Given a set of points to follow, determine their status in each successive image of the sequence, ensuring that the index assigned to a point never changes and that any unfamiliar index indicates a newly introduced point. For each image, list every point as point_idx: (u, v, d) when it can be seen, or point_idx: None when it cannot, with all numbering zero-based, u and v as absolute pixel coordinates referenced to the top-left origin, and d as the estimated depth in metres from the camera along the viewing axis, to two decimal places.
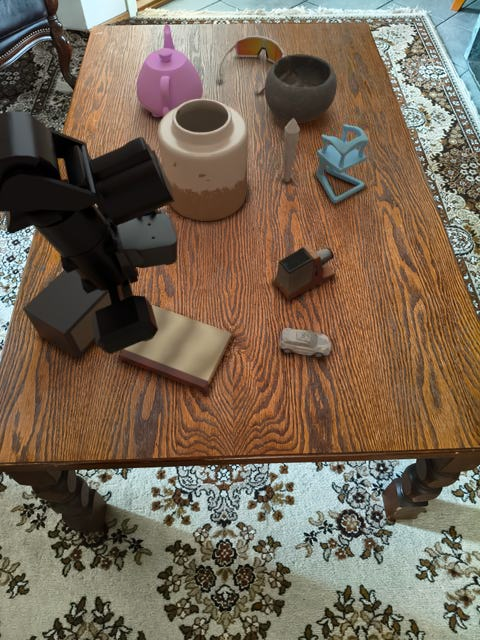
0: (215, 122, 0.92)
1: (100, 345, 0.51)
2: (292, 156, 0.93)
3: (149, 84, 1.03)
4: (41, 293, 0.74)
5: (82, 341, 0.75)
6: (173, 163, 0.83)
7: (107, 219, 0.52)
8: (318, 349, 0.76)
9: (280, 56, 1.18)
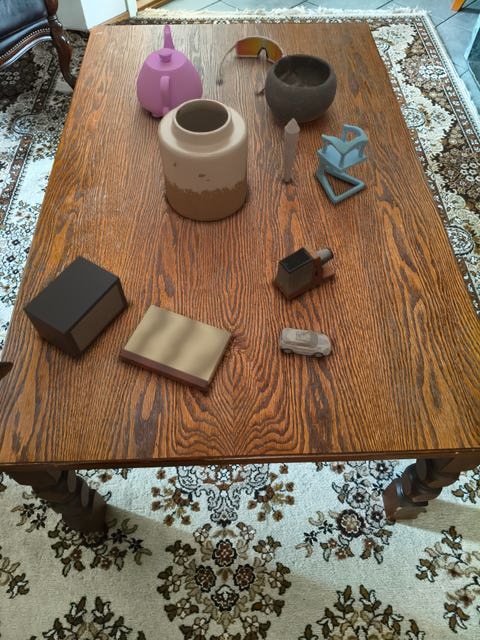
0: (215, 122, 0.92)
1: None
2: (292, 156, 0.93)
3: (149, 84, 1.03)
4: (41, 293, 0.74)
5: (82, 341, 0.75)
6: (173, 163, 0.83)
7: None
8: (318, 349, 0.76)
9: (280, 56, 1.18)
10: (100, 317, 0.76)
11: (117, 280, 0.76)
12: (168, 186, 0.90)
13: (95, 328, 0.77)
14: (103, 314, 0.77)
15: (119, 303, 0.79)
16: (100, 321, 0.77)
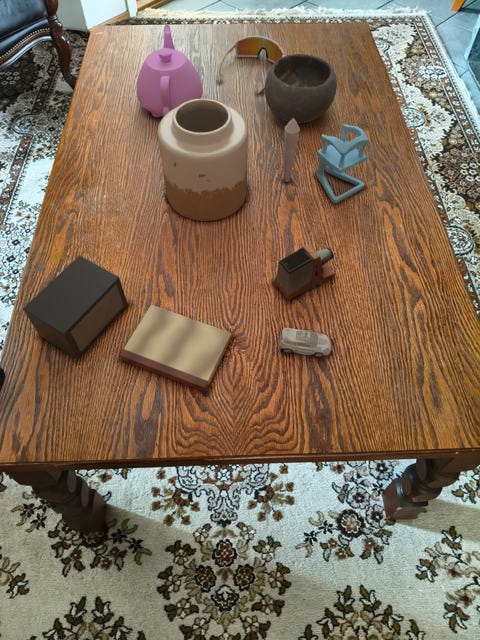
0: (215, 122, 0.92)
1: None
2: (292, 156, 0.93)
3: (149, 84, 1.03)
4: (41, 293, 0.74)
5: (82, 341, 0.75)
6: (173, 163, 0.83)
7: None
8: (318, 349, 0.76)
9: (280, 56, 1.18)
10: (100, 317, 0.76)
11: (117, 280, 0.76)
12: (168, 186, 0.90)
13: (95, 328, 0.77)
14: (103, 314, 0.77)
15: (119, 303, 0.79)
16: (100, 321, 0.77)
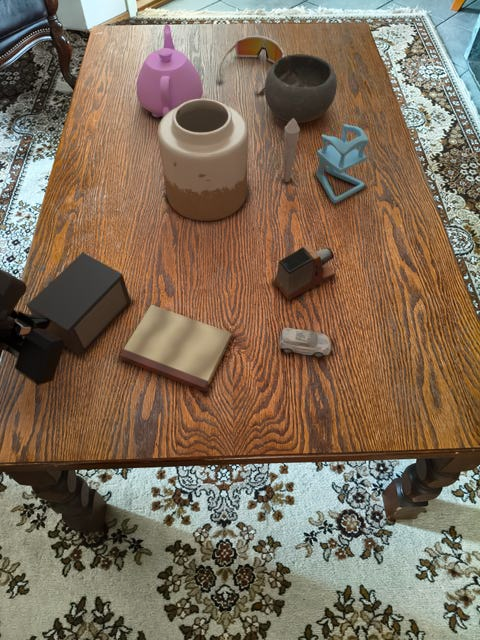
0: (215, 122, 0.92)
1: (40, 383, 0.62)
2: (292, 156, 0.93)
3: (149, 84, 1.03)
4: (45, 290, 0.75)
5: (85, 338, 0.76)
6: (173, 163, 0.83)
7: None
8: (318, 349, 0.76)
9: (280, 56, 1.18)
10: (103, 314, 0.77)
11: (120, 277, 0.76)
12: (168, 186, 0.90)
13: (98, 325, 0.77)
14: (106, 310, 0.77)
15: (122, 300, 0.80)
16: (103, 318, 0.77)
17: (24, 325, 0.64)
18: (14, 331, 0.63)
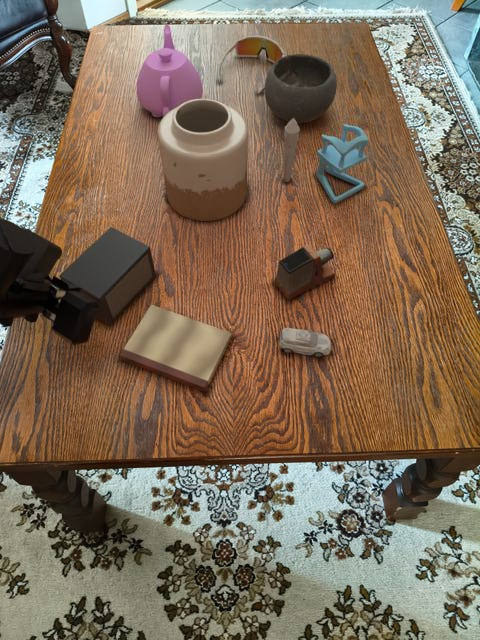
0: (215, 122, 0.92)
1: (76, 343, 0.65)
2: (292, 156, 0.93)
3: (149, 84, 1.03)
4: (76, 261, 0.78)
5: (114, 308, 0.79)
6: (173, 163, 0.83)
7: None
8: (318, 349, 0.76)
9: (280, 56, 1.18)
10: (131, 285, 0.80)
11: (148, 250, 0.79)
12: (168, 186, 0.90)
13: (126, 296, 0.80)
14: (134, 282, 0.80)
15: (149, 273, 0.83)
16: (131, 289, 0.80)
17: (59, 289, 0.67)
18: (50, 294, 0.66)
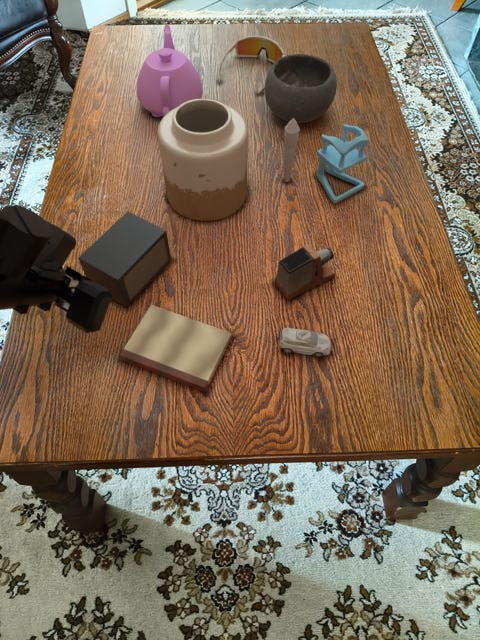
0: (215, 122, 0.92)
1: (89, 331, 0.67)
2: (292, 156, 0.93)
3: (149, 84, 1.03)
4: (94, 244, 0.80)
5: (132, 290, 0.80)
6: (173, 163, 0.83)
7: None
8: (318, 349, 0.76)
9: (280, 56, 1.18)
10: (148, 268, 0.82)
11: (164, 233, 0.81)
12: (168, 186, 0.90)
13: (143, 279, 0.82)
14: (150, 265, 0.82)
15: (164, 257, 0.85)
16: (148, 272, 0.82)
17: (72, 278, 0.68)
18: (64, 283, 0.68)
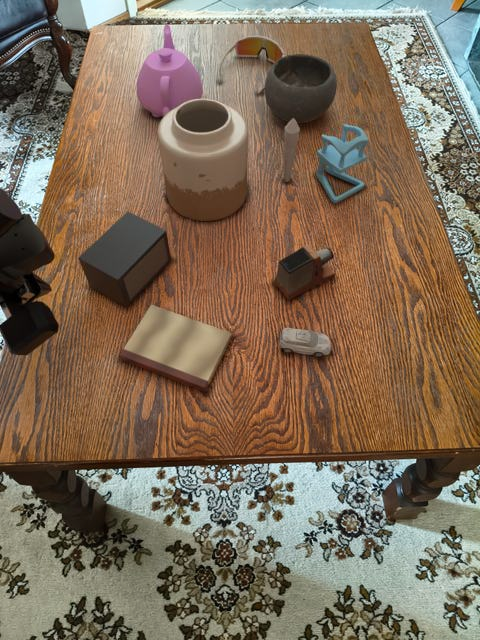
0: (215, 122, 0.92)
1: (14, 354, 0.59)
2: (292, 156, 0.93)
3: (149, 84, 1.03)
4: (94, 244, 0.80)
5: (132, 290, 0.80)
6: (173, 163, 0.83)
7: None
8: (318, 349, 0.76)
9: (280, 56, 1.18)
10: (148, 268, 0.82)
11: (164, 233, 0.81)
12: (168, 186, 0.90)
13: (143, 279, 0.82)
14: (150, 265, 0.82)
15: (164, 257, 0.85)
16: (147, 272, 0.82)
17: (30, 290, 0.61)
18: (17, 291, 0.60)
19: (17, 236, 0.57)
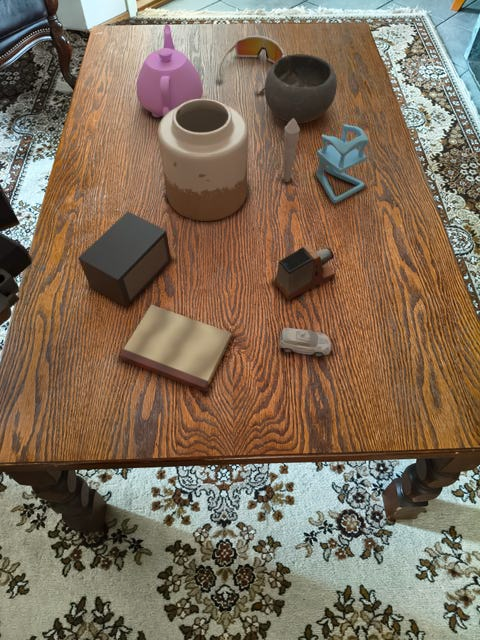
0: (215, 122, 0.92)
1: None
2: (292, 156, 0.93)
3: (149, 84, 1.03)
4: (94, 244, 0.80)
5: (132, 290, 0.80)
6: (173, 163, 0.83)
7: None
8: (318, 348, 0.76)
9: (280, 56, 1.18)
10: (148, 268, 0.82)
11: (164, 233, 0.81)
12: (168, 186, 0.90)
13: (143, 279, 0.82)
14: (150, 265, 0.82)
15: (164, 257, 0.85)
16: (147, 272, 0.82)
17: None
18: None
19: None
